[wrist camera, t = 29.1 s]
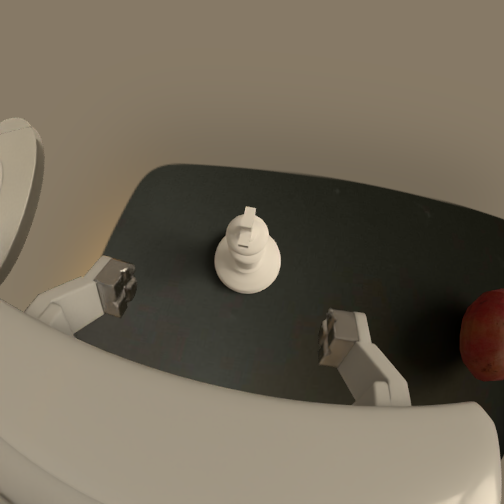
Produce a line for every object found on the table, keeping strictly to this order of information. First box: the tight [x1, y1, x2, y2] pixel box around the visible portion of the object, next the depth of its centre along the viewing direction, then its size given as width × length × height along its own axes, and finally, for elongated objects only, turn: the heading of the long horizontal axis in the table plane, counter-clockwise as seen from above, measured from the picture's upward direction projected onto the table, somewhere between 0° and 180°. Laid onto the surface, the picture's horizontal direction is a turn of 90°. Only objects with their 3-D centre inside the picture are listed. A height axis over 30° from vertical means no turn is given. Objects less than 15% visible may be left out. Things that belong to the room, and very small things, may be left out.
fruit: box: [460, 289, 504, 381], centre depth 15 cm, size 8×8×10 cm
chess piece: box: [215, 207, 281, 294], centre depth 16 cm, size 5×5×10 cm
